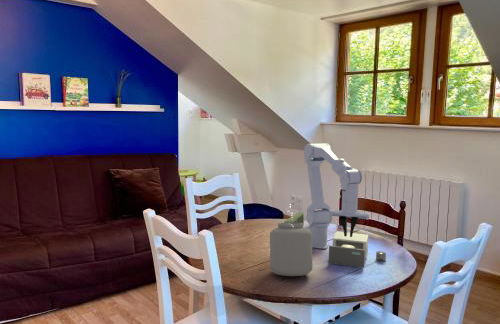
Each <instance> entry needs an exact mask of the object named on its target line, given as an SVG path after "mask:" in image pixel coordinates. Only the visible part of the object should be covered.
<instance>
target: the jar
mask: <svg viewBox="0 0 500 324" xmlns="http://www.w3.org/2000/svg"><path fill="white" fill-rule="evenodd" d="M289 205H290V206H289V208H290V209H291V207H292V206H291V205H292V204H291V203H289ZM290 209H289V210H287V212H290ZM292 216H293V212H291V215H290V217H292ZM269 260H270V261H269V267H270V270H271V272H272V273H274V274H275V275H278V276H285V277H286V276H287V277H299V276H300V277H301V276H305V275H306V276H307V275H308V274H310V273H311V272H312V270H313V247H312V233H311V231H310V230H308V229H307V228H305V227H304V225H303V223H284V222H279V223H277V227H274V228H273V229H272V230H271V231H270V233H269Z"/></svg>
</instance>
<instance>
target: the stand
mask: <svg viewBox="0 0 500 324" xmlns="http://www.w3.org/2000/svg"><path fill="white" fill-rule="evenodd" d="M386 258H387V252H384V251H382V250H381V251H380V250H379V251H376V253H375V261H377V262H379V263H384V262H386Z"/></svg>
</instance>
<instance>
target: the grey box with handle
mask: <svg viewBox="0 0 500 324" xmlns="http://www.w3.org/2000/svg"><path fill="white" fill-rule="evenodd" d="M364 258H365V250H364V249H355V248H346V247H338V246H333V245H328V264H335V265H342V266H348V267H349V266H350V267H358V268H364V267H365V260H364Z"/></svg>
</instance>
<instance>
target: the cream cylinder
mask: <svg viewBox="0 0 500 324" xmlns="http://www.w3.org/2000/svg"><path fill="white" fill-rule="evenodd" d="M341 247H346V248H355V247H354V246H352V245H342V246H341Z"/></svg>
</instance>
